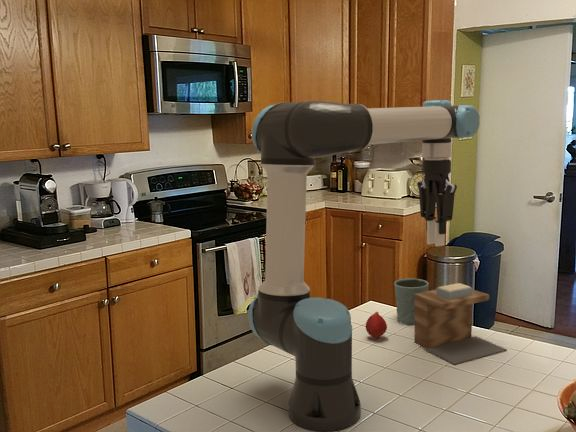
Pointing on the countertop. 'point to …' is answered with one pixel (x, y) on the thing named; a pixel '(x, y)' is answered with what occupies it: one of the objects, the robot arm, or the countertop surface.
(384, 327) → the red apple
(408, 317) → the grey-green tapered bin
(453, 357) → the mat
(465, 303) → the brown flat-topped block
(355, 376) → the countertop surface
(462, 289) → the box
